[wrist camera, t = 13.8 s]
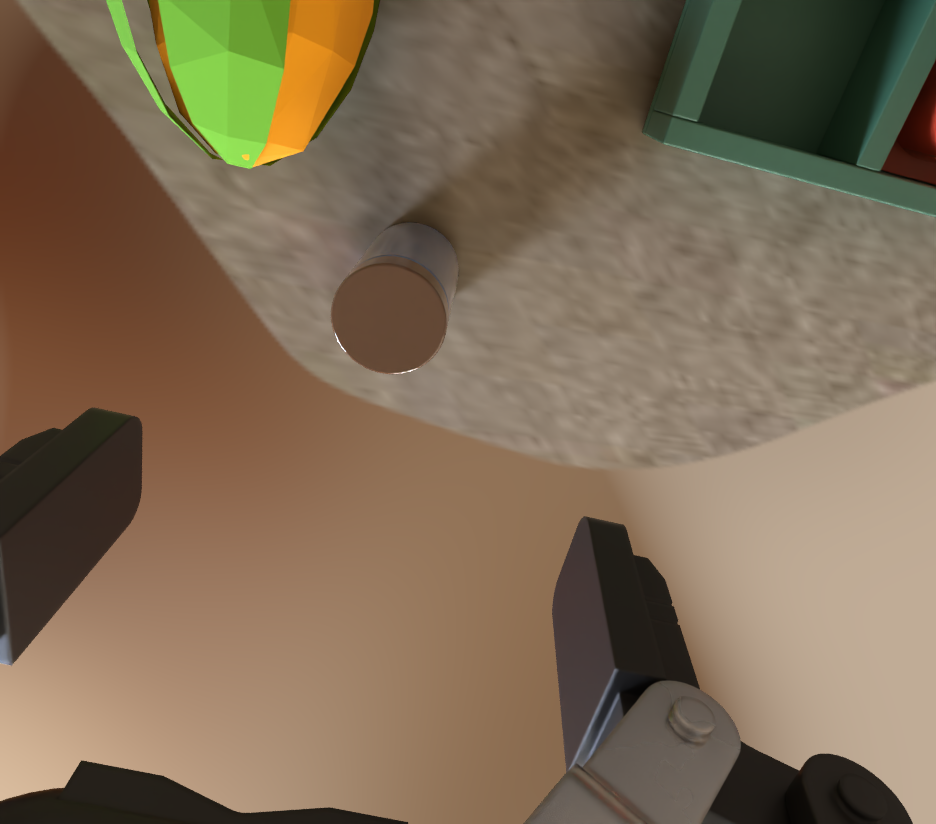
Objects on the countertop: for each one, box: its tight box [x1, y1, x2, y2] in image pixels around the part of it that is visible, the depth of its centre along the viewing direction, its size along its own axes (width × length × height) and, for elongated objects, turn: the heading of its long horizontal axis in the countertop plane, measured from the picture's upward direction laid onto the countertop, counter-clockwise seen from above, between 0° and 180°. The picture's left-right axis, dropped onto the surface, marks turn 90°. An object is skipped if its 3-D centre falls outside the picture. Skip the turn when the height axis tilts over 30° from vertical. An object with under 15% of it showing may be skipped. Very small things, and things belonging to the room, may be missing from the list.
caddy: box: [642, 0, 936, 217], centre depth 21 cm, size 7×12×4 cm, turn 77°
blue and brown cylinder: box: [331, 222, 459, 374], centre depth 24 cm, size 4×4×6 cm
